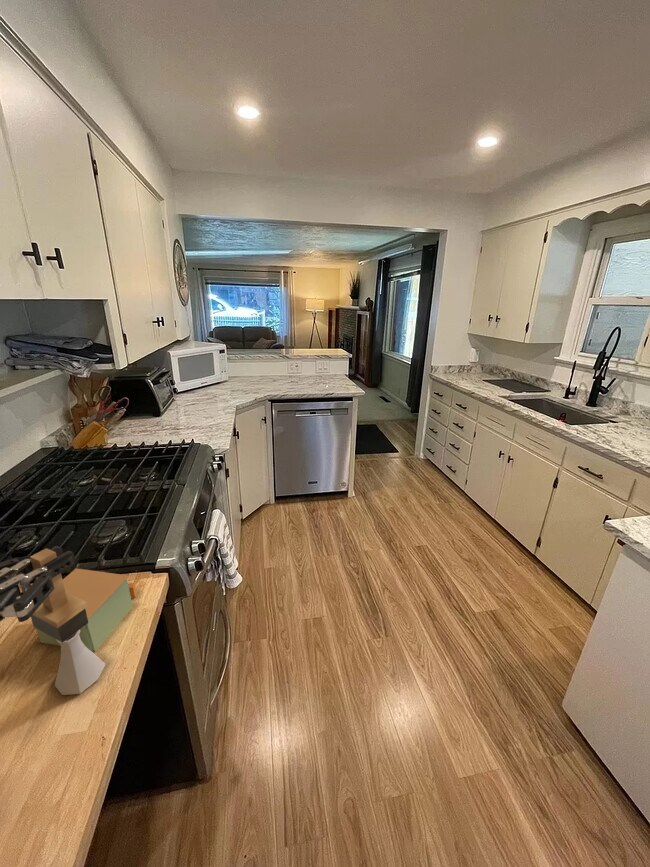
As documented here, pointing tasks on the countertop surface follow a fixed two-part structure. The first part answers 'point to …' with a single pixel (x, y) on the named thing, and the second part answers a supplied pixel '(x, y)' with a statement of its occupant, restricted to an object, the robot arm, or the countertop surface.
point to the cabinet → (97, 604)
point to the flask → (77, 666)
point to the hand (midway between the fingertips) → (66, 553)
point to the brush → (57, 605)
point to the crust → (132, 590)
